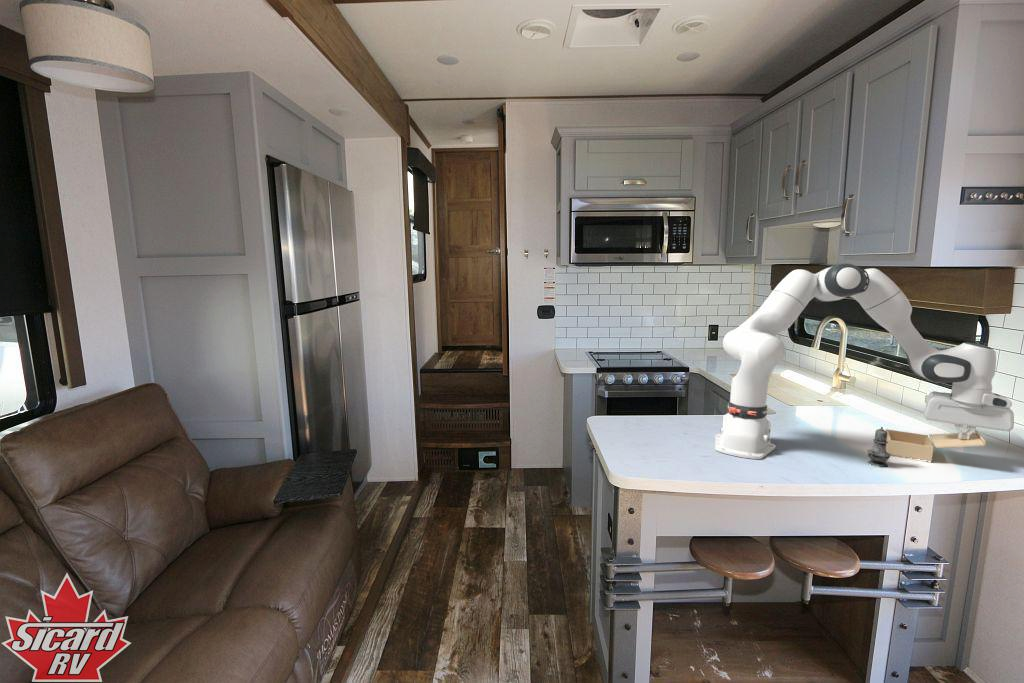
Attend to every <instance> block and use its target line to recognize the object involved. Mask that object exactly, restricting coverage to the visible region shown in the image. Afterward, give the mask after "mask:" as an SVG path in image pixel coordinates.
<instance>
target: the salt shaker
mask: <svg viewBox="0 0 1024 683" xmlns="http://www.w3.org/2000/svg"><path fill="white" fill-rule="evenodd" d="M886 439H887V432H886V429H884V427H883V426H881V427H880V428H878V429H876V430H875V434H874V439H872V441H873V447H872V449H867V451H866V452H867V454H868V458H869V460H867V461H866V463H867V462H868V463H869V464H868V463H867V464H868V465H870V464H871V466H873V465H874V466H873V467H876V466H879V467H878V468H888V467H889V464H887V463H886V462H888V461H889V459H890V458H891V457H892V456H891V455H890V454H889V453H887V452H886V443H888V442H887V441H886Z"/></svg>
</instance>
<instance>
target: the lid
mask: <svg viewBox="0 0 1024 683" xmlns="http://www.w3.org/2000/svg"><path fill="white" fill-rule="evenodd" d="M958 433H959V432H954V433H952V432H951V433H936V434H935V433H933V434H932V433H931V434H928V435H929V436H928V437H929V439H930V441H931V442H932V444H933V446H934V447H935V448H937V449H938V448H939V449H940V448H942V449H943V448H960V447H961V448H965V447H967V448H968V447H984V446H986V445H987V444H986V440H985V439H984V438H983V437H982V435H981V433H979V432H978V431H977V429H976V430H975V431H974V432H973V433H972V434H971V435H970V436H969V440H965V439H959V438H958Z"/></svg>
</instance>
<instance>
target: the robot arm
mask: <svg viewBox="0 0 1024 683" xmlns="http://www.w3.org/2000/svg"><path fill="white" fill-rule="evenodd" d="M847 297H848V298H849V297H850V298H852V299H854V300H855V301H856V302H857V303H859V305H860V306H861V308H862V309H863V310H864V311H865V313H866V314H867V315H868V316H869V317H870V318H871V319H872V320H873V321H875V322H876V323H877V324H878V325H879V326H881V327H882V328H883V329H885V330H886V331H887V332H888V333H890V334H891V336H892V337H893V338H894V339H895V341H896V342H897V344H898V345H899V346H900V347H901V349H902V350H903V351H904V353H905V356H906V359H907V365H908V368H909V369H910V370H911V372H913V374H915V375H916V376H919V377H921V378H923V379H926V380H927V381H929V382H932V383H936V384H950V383H952V387H951V391H950V392H940V391H931V392H927V393H926V394H925V397H924V398H925V399H924V402H925V407H924V410H923V417H924V418H925V419H926V420H927V421H933V422H940V423H945V424H953V425H954V427H955V430H957V433H958V438H959V439H965V440H969V436H970V435H971V434H972V433H973V432H974V433H975V430H976V431H977V429H976V428H982V429H988V430H994V431H1001V432H1010V431H1012V430H1013V429H1014V426H1015V413H1014V412H1013V410H1012V409H1011V407H1012V405H1013V402H1012V401H1011V400H1010V399H1009V398H1007V397H1005V396H1002V395H1001V394H998V393H994V392H993V385H992V381H993V378H994V377H995V374H996V368H997V353H996V351H995V350H994V348H991V347H990V346H987V345H983V344H979V343H975V342H969V341H968V342H967V341H966V342H963V343H961V344H959V345H957V346H953V347H950V348H947V349H938V348H936V347H934V346H932V345H930V344H929V343H928V342H927V341H926V340H925V339H924V338H923V336H922V335H921V334H920V332H919V330H917V328H915V326H914V324H913V323H912V320H911V315H912V312H913V307H912V305H911V303H910V300H909V299H908V298H907V296H906V294H905V293H904V292H903V291H902V289H901V288H900V287H899V286H898V285H897V284H896V283H895V282H894V280H892V279H891V278H890V277H889V276H888V275H886V274H885V273H884V272H882V271H881V270H880V269H877V268H873V267H872V268H865V269H862V268H861V267H859V266H857V265H855V264H852V263H838V264H837V263H836V264H835V265H832V266H830V267H826V268H824V269H822V270H820V271H819V272H816V273H813V272H810V271H809V270H806V269H802V268H800V269H793V270H792V271H791V272H789V273H788V274H787V275H785V276H784V278H782V279H781V281H780V282H779V283H778V284H777V285H776V286H775V287H774V289H773V290H772V291H771V293H770V294H769V295H768V297H767V298H766V299H765V300H764V301H763V303H762V304H761V306H760V307H759V308H758V309H757V310H756V311H755V312H754V313H753V314H752V315H751V316H749V317H748V319H747V320H745V321H744V322H742V323H741V324H740V325H739V326H737V327H736V328H735V329H732V330H730V331H728V332H727V333H726V334H725V336H724V337H723V340H722V347H723V350H724V351H725V353H726V354H728V355H729V356H730V357H731V358H733V359H734V360H738V361H740V363H741V364H740V365H739V369H738V371H737V373H736V375H734V376H733V377H732V379H731V384H730V385H731V386H730V395H729V396H730V398H729V401H728V404H727V413H726V414H723V422H722V428H721V427H720V429H719V430H720V433H717V434H715V438H714V450H715V451H717V452H719V453H722V454H725V455H730V456H735V457H740V458H744V459H745V458H746V459H751V460H753V459H754V460H757V459H758V460H761V459H763V458H765V457H766V456H768V455H769V454H770V453H771V452H772V451H775V449H776V445H775V444H773V443H771V425H772V424H771V422H770V421H769V420H768V419H767V414H768V405H767V397H768V387H769V383H770V379H771V376H772V374H773V372H774V369H775V368H776V367H777V366H778V365H780V364H781V363H782V362H783V361H784V359H785V356H786V355H787V354H786V353H787V350H786V346H785V344H784V342H783V341H782V340H781V339H779V338H778V337H776V336H777V335H778V334H780V333H782V332H785V331H787V330H788V329H790V328H791V326H792V325H793V324H794V323H795V321H796V320H797V319H798V317H799V316H800V315H801V313H802V312H803V311H804V310H805V308H806V307H807V306H808V304H809V302H810V301H812V300H813V301H815V302H819V303H830V302H834V301H841V300H843V299H845V298H847ZM963 426H966V427H967V426H968V430H967V431H966V432H962V430H961V429H962V428H963Z"/></svg>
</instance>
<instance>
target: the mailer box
mask: <svg viewBox="0 0 1024 683" xmlns="http://www.w3.org/2000/svg"><path fill="white" fill-rule="evenodd" d="M885 431H886V432H887V439H886V441H887V442H888V443H886V452H887V453H889V454H890V455H891V456H890V457H896V456H897V458H902V457H905V458H904V459H907V458H912V459H911V460H913V459H920V460H927V461H932V460H933V454H934V453H933V452H934V444H933V442H932V440H931V438H930V436H928V435H929V434H928V435H927V434H920V433H915V432H914V433H912V432H908V431H903V430H901V431H900V430H894V429H888V428H885Z"/></svg>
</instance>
